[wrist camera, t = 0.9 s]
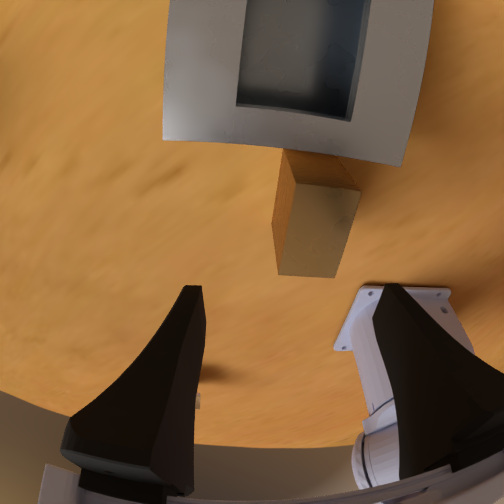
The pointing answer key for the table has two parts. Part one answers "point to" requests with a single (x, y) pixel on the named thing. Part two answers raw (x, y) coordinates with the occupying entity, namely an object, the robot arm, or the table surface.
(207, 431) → the table surface
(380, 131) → the grey square frame
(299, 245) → the tan wooden block
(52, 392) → the table surface
